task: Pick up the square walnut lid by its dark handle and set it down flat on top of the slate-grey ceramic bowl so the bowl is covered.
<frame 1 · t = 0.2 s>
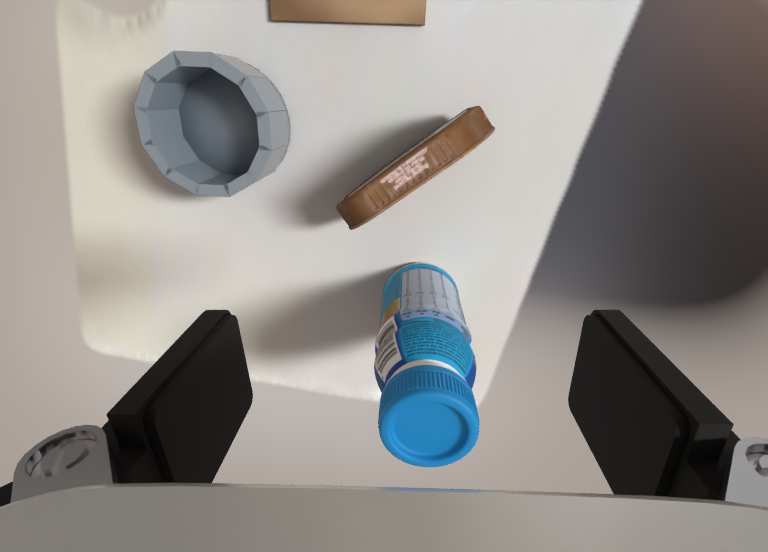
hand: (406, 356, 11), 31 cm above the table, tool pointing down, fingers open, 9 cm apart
bowl: (232, 124, 38), on the table
tin: (410, 161, 39), on the table
beverage bottle: (420, 293, 44), on the table
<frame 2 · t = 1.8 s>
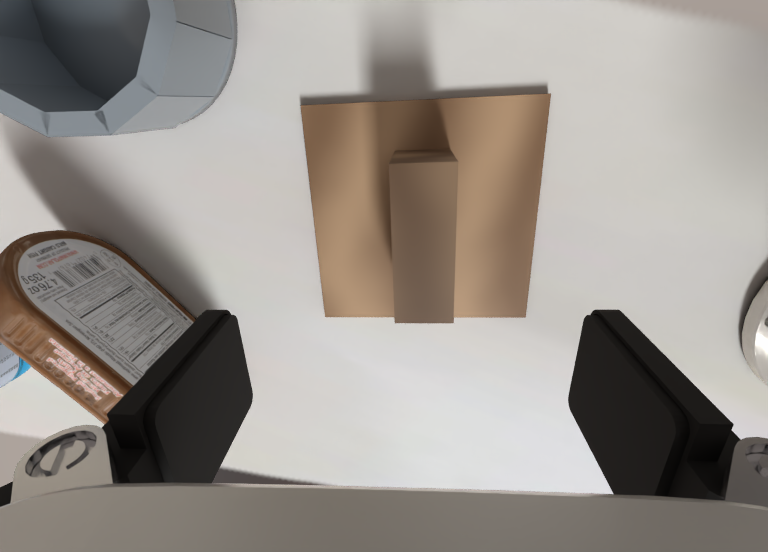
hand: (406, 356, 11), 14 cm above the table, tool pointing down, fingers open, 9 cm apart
bowl: (133, 14, 21), on the table
lid: (422, 216, 24), on the table
tin: (167, 302, 28), on the table
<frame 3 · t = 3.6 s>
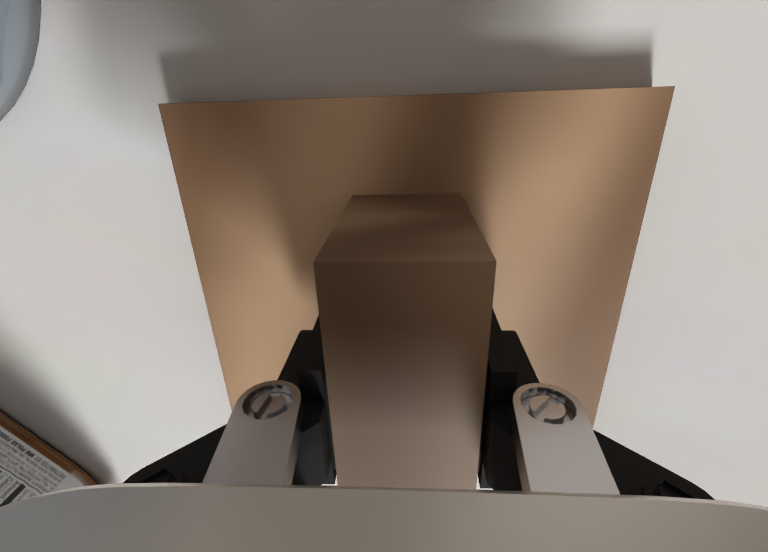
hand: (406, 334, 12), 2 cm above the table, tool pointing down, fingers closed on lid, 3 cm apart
lid: (407, 304, 14), on the table, touching gripper
tin: (7, 422, 17), on the table
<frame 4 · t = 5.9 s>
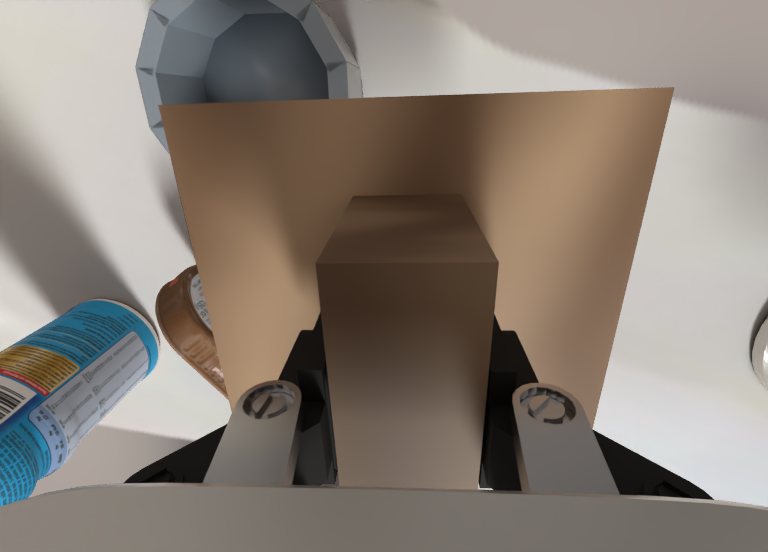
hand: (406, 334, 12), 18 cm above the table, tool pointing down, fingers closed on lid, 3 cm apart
bowl: (279, 97, 26), on the table
lid: (407, 305, 14), point 16 cm above the table, touching gripper
tin: (273, 319, 33), on the table
beverage bottle: (119, 336, 35), on the table
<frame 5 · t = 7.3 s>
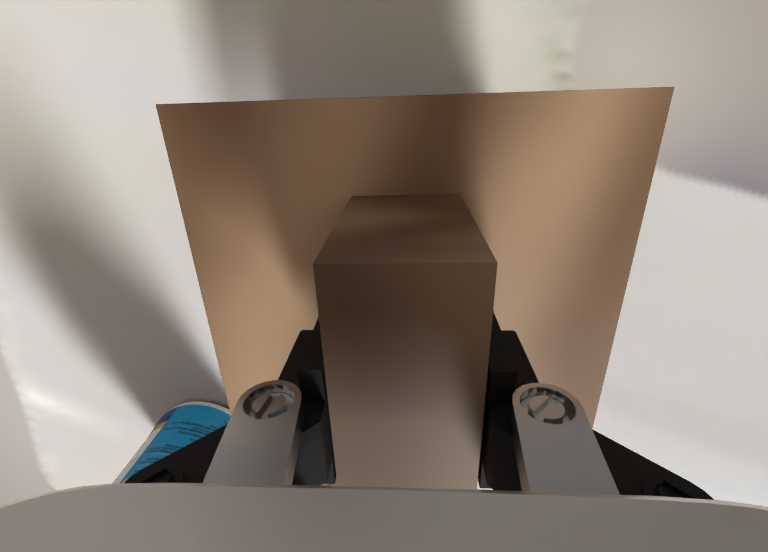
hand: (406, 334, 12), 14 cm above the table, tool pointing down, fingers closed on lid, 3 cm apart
lid: (406, 305, 14), point 12 cm above the table, touching gripper
beverage bottle: (211, 433, 34), on the table
when the fingers open (9 cm above the table, at t = 8.3 s): lid drops 2 cm, resting on bowl.
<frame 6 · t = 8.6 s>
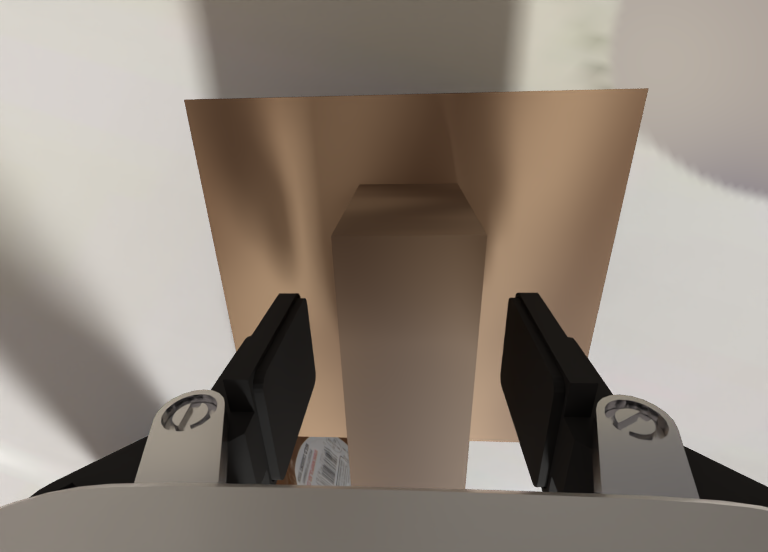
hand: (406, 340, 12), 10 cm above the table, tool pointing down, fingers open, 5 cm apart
lid: (407, 287, 15), point 6 cm above the table, touching bowl
tin: (368, 469, 28), on the table
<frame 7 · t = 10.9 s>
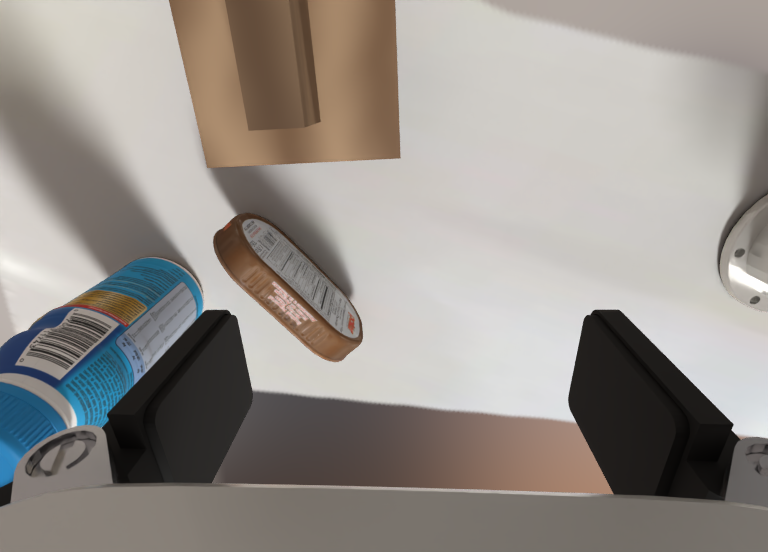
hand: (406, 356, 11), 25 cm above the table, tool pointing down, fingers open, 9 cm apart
lid: (292, 53, 25), point 6 cm above the table, touching bowl
tin: (306, 266, 38), on the table
beverage bottle: (165, 292, 39), on the table
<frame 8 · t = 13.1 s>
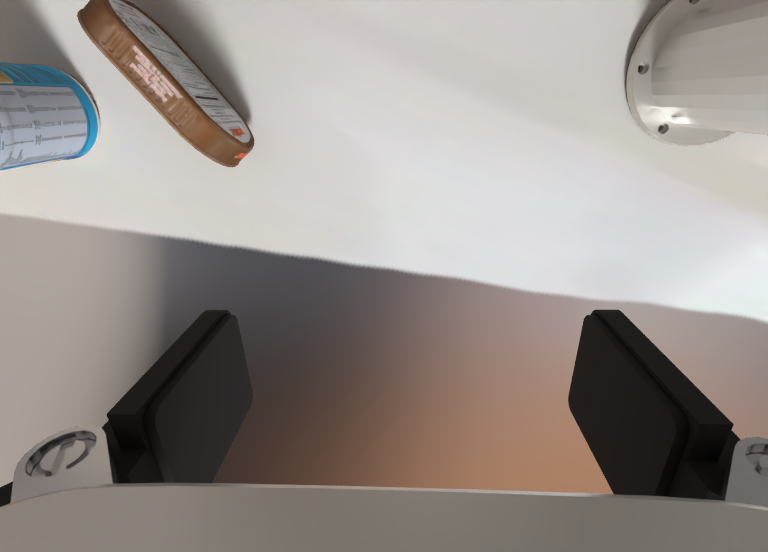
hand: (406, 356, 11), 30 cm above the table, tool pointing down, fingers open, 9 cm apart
tin: (202, 85, 37), on the table
beverage bottle: (62, 113, 38), on the table
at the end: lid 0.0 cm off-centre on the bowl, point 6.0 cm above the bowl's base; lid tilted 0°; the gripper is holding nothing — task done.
